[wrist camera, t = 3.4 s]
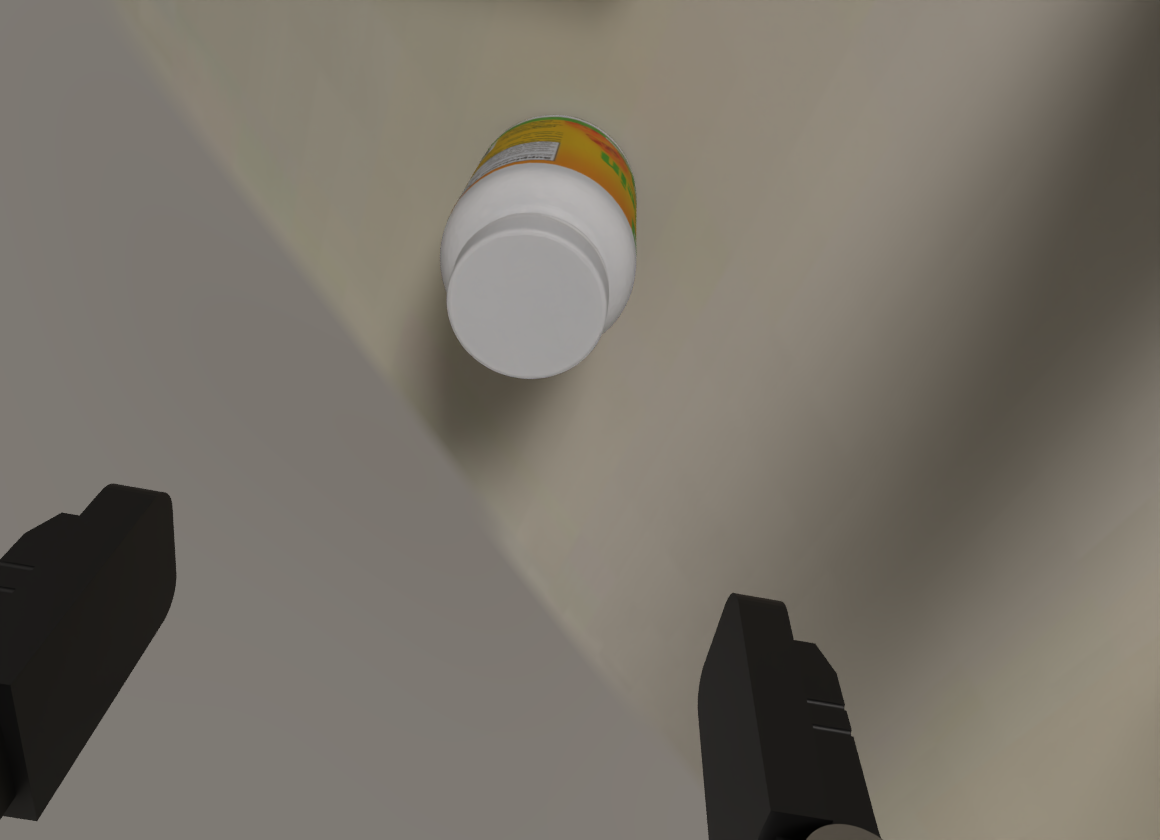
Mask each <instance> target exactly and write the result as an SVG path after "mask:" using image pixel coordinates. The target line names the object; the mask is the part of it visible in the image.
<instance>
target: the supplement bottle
mask: <svg viewBox="0 0 1160 840" xmlns="http://www.w3.org/2000/svg"><path fill="white" fill-rule="evenodd" d="M636 204H637V200H636V188H635V181H634V177H633V173H632V170H631V167H630V165H629V163H628V160H627V158H626V157H625V155H624V153H623V152H622V150H621V149H620V147H619V146H618V145H617V144H616V143H615V141H614V140H613V139H612V138H611V137H610V136H608V135H607V134H606V133H605V132H603V131H602V130H601V129H599V128H598V127H596V126H595V125H593V124H591V123H589V122H587V121H584V120H581V119H578V118H575V117H571V116H564V115H545V116H539V117H534V118H530V119H527V120H524V121H522V122H520V123H518V124H516V125H514V126H512V127H511V128H509V129H508V130H506V131H505V132H504V133H503V134H502V135H501V136H500V137H499V138H498V139H497V140H496V141H495V142H494V143H493V144H492V145H491V147H490V148H489V149H488V150H487V152H486V153H485V155H484V156H483V158H482V160H481V161H480V163H479V165H478V167H477V168H476V170H475V172H474V174H473V176H472V177H471V179H470V181H469V183H468V184H467V186H466V187H465V189H464V191H463V193H462V195H461V196H460V198H459V200H458V201H457V203H456V204H455V206H454V208H453V210H452V212H451V214H450V216H449V218H448V221H447V224H446V227H445V230H444V233H443V237H442V242H441V248H440V266H441V274H442V279H443V283H444V286H445V290H446V292H447V297H446V303H447V312H448V317H449V321H450V324H451V326H452V329H453V331H454V334H455V335H456V337H457V339H458V340H459V342H460V343H461V345H462V346H463V348H464V349H465V350H466V351H467V352H468V353H469V354H470V355H471V356H472V357H473V358H474V359H476V360H477V361H478V362H480V363H481V364H482V365H484V366H486V367H487V368H489V369H491V370H493V371H495V372H497V373H500V374H503V375H506V376H509V377H515V378H521V379H539V378H547V377H551V376H555V375H558V374H561V373H563V372H565V371H567V370H569V369H571V368H573V367H574V366H576V365H577V364H579V363H580V362H581V361H582V360H584V359H585V358H586V356H587V355H588V354H590V352H591V351H592V350H593V349H594V347H595V346H596V344H597V343H598V341H599V339H600V337H601V335H602V334H603V333H605V332H606V331H607V330H608V329H609V328H610V327H611V326H612V325H613V324H614V323H615V321H616V320H617V319H618V317H619V316H620V315H621V313H622V311H623V310H624V308H625V306H626V304H627V302H628V300H629V297H630V294H631V291H632V288H633V284H634V279H635V272H636Z"/></svg>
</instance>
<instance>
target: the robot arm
mask: <svg viewBox="0 0 1160 840" xmlns="http://www.w3.org/2000/svg"><path fill="white" fill-rule="evenodd" d="M175 586H176V561H175V543H174V526H173V510H172V501H171V498H170V496H169V495H168V494H167V493H164V492H158V491H153V490H147V489H142V488H136V487H130V486H124V485H118V484H109V485H107V486H106V487H105V488H104V489H103V490H102V491H101V492H100V493H99V494H98V495H97V496H96V498H95V499H94V500H93V501H92V502H91V503H90V504H89V505H88V507H87V508H86V509H85V510H84V511H83V513H81V515H80V516H78V515H73V514H67V513H61V514H59V515H57V516H55V517H53V518H51V519H50V520H48V521H46V522H44V523H42V524H41V525H39V526H37V527H35V528H34V529H32V530H30V531H28V532H26V533H25V534H24V535H23V536H22V537H21V538H20V539H19V540H18V541H17V542H16V543H15V544H14V545H13V546H12V547H11V548H10V550H9V551H8V552H7V553H6V554H5V555H4V556H3V557H2V558H1V559H0V819H1V818H2V816H7V817H14V818H20V819H27V820H33V821H37V820H38V819H39V817H40V816H41V814H42V812H43V811H44V809H45V808H46V806H47V805H48V803H49V801H50V800H51V798H52V797H53V795H54V793H55V792H56V790H57V788H58V787H59V786H60V784H61V782H62V781H63V779H64V778H65V776H66V775H67V773H68V771H69V770H70V768H71V767H72V765H73V763H74V762H75V760H76V758H77V757H78V755H79V754H80V752H81V751H82V749H83V748H84V746H85V745H86V743H87V741H88V740H89V738H90V736H91V735H92V733H93V732H94V730H95V729H96V727H97V726H98V724H99V722H100V721H101V719H102V717H103V716H104V714H105V713H106V711H107V710H108V708H109V707H110V705H111V703H112V702H113V700H114V699H115V697H116V696H117V694H118V692H119V691H120V689H121V687H122V686H123V685H124V682H125V681H126V680H127V678H128V677H129V675H130V673H131V672H132V670H133V669H134V667H135V666H136V664H137V662H138V661H139V659H140V657H141V656H142V654H143V653H144V651H145V650H146V648H147V647H148V645H149V643H150V642H151V640H152V638H153V637H154V636H155V634H156V632H157V631H158V629H159V628H160V626H161V624H162V623H163V621H164V619H165V618H166V615H167V613H168V611H169V608H170V606H171V603H172V600H173V596H174V592H175ZM844 705H845V704H844V700H843V696H842V692H841V688H840V685H839V681H838V677H837V673H836V672H835V671H834V669H833V668H832V666H831V665H830V664H829V662H828V661H827V659H826V658H825V657H824V655H823V654H822V653H821V651H820V650H819V648H818V647H817V646H816V644H814V643H808V642H802V641H796V640H794V639H793V635H792V630H791V626H790V621H789V617H788V612H787V608H786V606H785V604H784V603H783V602H782V601H776V600H771V599H765V598H759V597H753V596H748V595H742V594H736V593H732V594H731V595H730V596H729V598H728V599H727V602H726V604H725V607H724V610H723V613H722V615H721V618H720V621H719V624H718V627H717V630H716V632H715V635H714V638H713V641H712V644H711V646H710V649H709V652H708V655H707V658H706V661H705V663H704V666H703V670H702V674H701V679H700V684H699V693H698V718H699V729H700V741H701V753H702V764H703V776H704V788H705V800H706V811H707V823H708V835H709V840H883V839H881V837H880V834H879V831H878V828H877V824H876V820H875V816H874V813H873V809H872V805H871V801H870V798H869V794H868V790H867V786H866V783H865V779H864V775H863V771H862V767H861V764H860V760H859V756H858V752H857V749H856V745H855V741H854V737H852V736H851V726H850V722H849V719H848V715H847V711H845V710H844Z"/></svg>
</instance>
